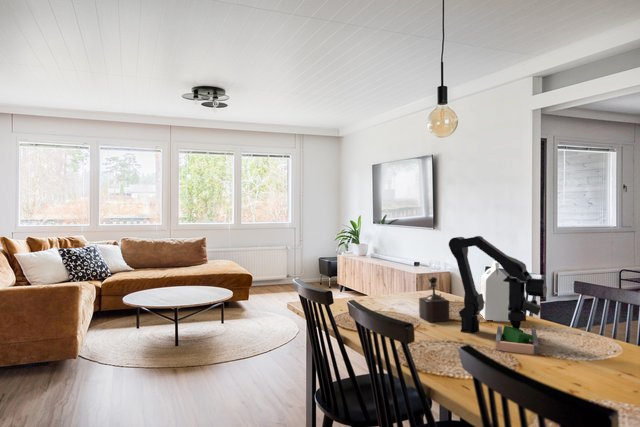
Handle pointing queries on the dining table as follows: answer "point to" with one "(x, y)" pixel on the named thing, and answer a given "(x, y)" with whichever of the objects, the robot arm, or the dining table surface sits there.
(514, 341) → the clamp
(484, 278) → the milk
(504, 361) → the dining table surface
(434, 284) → the dark brown stamp
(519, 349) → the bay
